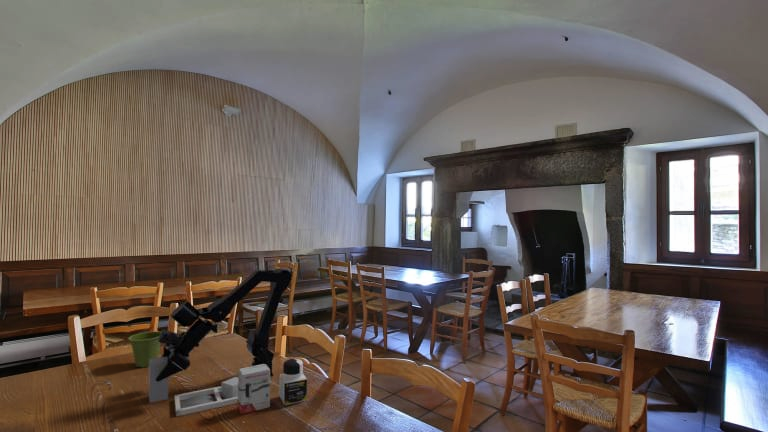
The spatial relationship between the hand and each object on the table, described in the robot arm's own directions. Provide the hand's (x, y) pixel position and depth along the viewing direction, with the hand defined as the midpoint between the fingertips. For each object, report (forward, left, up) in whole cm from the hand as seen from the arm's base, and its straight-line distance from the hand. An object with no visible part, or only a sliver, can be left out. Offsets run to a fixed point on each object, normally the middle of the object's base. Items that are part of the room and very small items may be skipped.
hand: (155, 375), depth 124 cm
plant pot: (+3, -36, -7) cm, 36 cm away
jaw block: (-1, 0, -7) cm, 7 cm away
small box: (-22, +10, -8) cm, 25 cm away
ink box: (-26, +21, -7) cm, 34 cm away
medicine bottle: (-38, +21, -7) cm, 44 cm away
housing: (-16, +10, -7) cm, 20 cm away
